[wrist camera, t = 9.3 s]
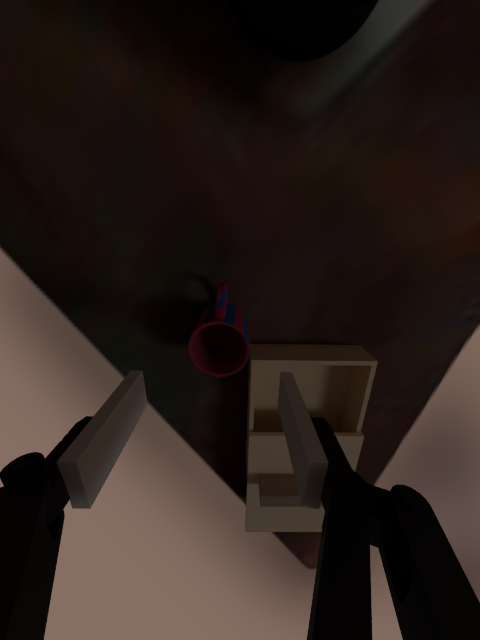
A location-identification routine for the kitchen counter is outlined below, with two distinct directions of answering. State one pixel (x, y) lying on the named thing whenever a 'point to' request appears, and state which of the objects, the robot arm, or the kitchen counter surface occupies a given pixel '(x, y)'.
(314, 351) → the beige open box
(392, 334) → the kitchen counter surface
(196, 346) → the mug
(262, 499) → the lid
